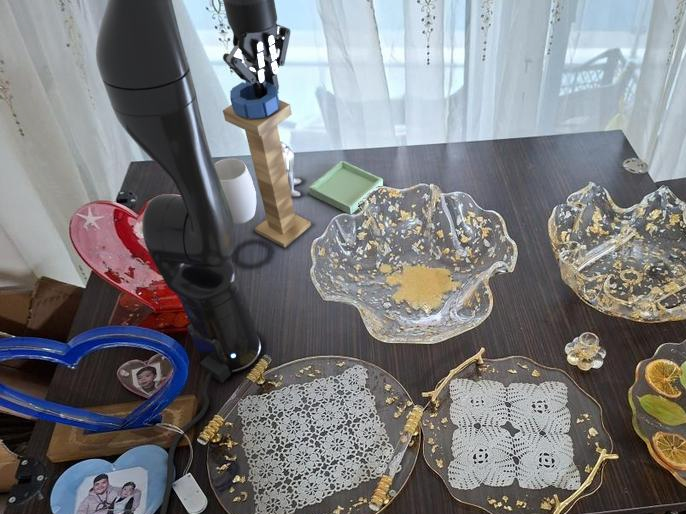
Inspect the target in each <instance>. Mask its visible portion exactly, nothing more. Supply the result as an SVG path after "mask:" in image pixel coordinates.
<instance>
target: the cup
mask: <svg viewBox="0 0 686 514" xmlns="http://www.w3.org/2000/svg"><path fill="white" fill-rule="evenodd" d="M213 163H214V165H215V168H216V171H217V174H218V177H219V180H220V182H221V185H222V188H223V190H224V193H225V196H226V199H227V201H228V204H229V207H230V211H231V214H232V218H233V222H234V224H245V223H247V222H250V220H252V219H253V218H254V217H255V214H256V209H257V191H256V188H255V184H254V181H253V179H252V175H251V173H250V172H249V169H248V167H247V165H246V163H245V162H244V161H243V160H241V159H238V158H230V157H229V158H228V157H227V158H223V159H219V160H217V162H213Z"/></svg>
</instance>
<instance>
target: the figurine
mask: <svg viewBox="0 0 686 514" xmlns="http://www.w3.org/2000/svg"><path fill="white" fill-rule="evenodd" d="M280 143H281V148H282V153H283V158H284V163H285V168H286V173H287V178H288V183H289V188H290V193H291V198H299V197H300V196H301V192H300V191H298V190H296V189H295V188H294V187H295V186H297V185H300V184H302V179H301V178H297V177H295V170H294V166H295V152H294V150H293V149H292V148H291V147H290V146H289V145H287V143H285V142H283V141H280Z"/></svg>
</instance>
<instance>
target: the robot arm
mask: <svg viewBox="0 0 686 514" xmlns="http://www.w3.org/2000/svg"><path fill="white" fill-rule="evenodd" d="M222 2H223V7H224V11H225V15H226V20H227V23H228V25H229V27H230V29H231V31H232V33H233V37H232V45H233V47H232V49H231V51H230V53H227V52H226V53H224V54H223V55H222V60H223V61H224V63H225V64H226V65H227V66H228V67H229V68H230V69H231V70H232V71H233V72H234V73H235V74H236V75H237V76H238V77H239V78H240V79H241V80H243V81H247V82H249V83H252V85H253V89H254V94H255V96H256V97H257V98H258V99H261V98H262V97H264V96H265V95H267V86H266V81H267V82H269V83H271V84H274V85H275V86H276V87H277V92H278V94H279V92H280V91H279V90H280V85H279V80H278V79H279V78H278V72H279V68H280V67H283V66H284V65H285V64H286V58H287V52H288V48H289V43H290V37H291V33H292V31H291V29H290V28H289V27H286V26H284V25H280V24H278V23H277V22H278V14H277V7H276V3H275V0H222ZM101 19H102V20H101V23H100V27H99V31H98V35H97V39H96V40H97V41H96V48H95V60H96V65H97V68H98V72H99V75H100V78H101V80H102V83H103V86H104V88H105V91H106V95H107V97H108V100H109V102H110V106H111V108H112V110H113V113H114V114H115V117H116V119H117V121H118V123H119V124H120V126H121V127H122V128H123V129H124V131H125V132H126V133H127V135H128V136H129V137H130V138H131V139H132V140H133V141H134V142H135V143H136V145H138V147H139V148H140V149H141V150H142V151H143V152H144V153H145V154H146V155H147V156H148V157H149V158H150V159H151V160H152V161H153V162H154V163H155V164H156V165H157V166H158V167H159V168H160V169H161V171H163V172H164V174H166V175H167V176H168V178H169V179H170V181H171V182H172V183H173V185H174V186H175V188H176V189H177V191H178V193H179V194H173V193H163V194H159V195H156V196H155V197H153V198H152V199H151V200H149V202H148V203H147V204H146V207H145V209H144V212H143V214H142V224H141V225H142V226H141V227H142V228H141V230H142V236H143V240H144V244H145V247H146V249H147V252H148V254H149V256H150V258H151V259H152V262H153V263H154V265H155V267H156V269H157V270H158V272H159V274H160V276H161V278H162V279H163V281H164V283H165V284H166V286H167V288H168V289H169V290H170V291H171V292H172V293H174V294H176V295H177V298H178V300H179V301H180V304H181V306H182V309H183V310H184V312H185V315H186V317H187V319H188V322H189V323H190V324H189V325H187V327H186V330H187V331H188V333H189V335H190V338H191V340H192V342H193V344H194V346H195V349H196V351H197V353H198V355H199V357H200V359H201V361H200V362H199V363H200V366H201V368H202V370H203V372H204V373H206V374H207V375H206V377H205V380H204V382H203V384H202V388H201V398H202V400H203V405H202V408H201V410H200V412H199V413H198V414H197V415H196V416H195V417H193V419H191V420H190V421H189V422H188V423H187V424H186V425H184V426H183V427H182V428H181V429H182V430H183V431H184V432H185V433H187V432H188V431H189V430H190V429H191V428H192V427H194V426H195V425H196V424H197V423H198V422H200V421H201V419H202V418H203V417H204V416H205V414H206V413H207V411H208V408H209V406H210V399H209V397H208V393H207V392H208V387H209V385H210V382H211V381H212V379H215V380H216V381H218V382H219V383H221V384H223V383H224V382H225V381H226V380H227V379H228V378H229V377H230V376H231V375H232V374H235V373H240V372H242V371H245V370H246V369H248V368H250V367H251V366H253V365H254V364H255V363H256V362H257V360H258V359H259V357H260V355H261V352H262V343H261V340H260V337H259V335H258V331H257V329H256V327H255V323H254V321H253V317H252V314H251V311H250V308H249V305H248V302H247V299H246V296H245V292H244V290H243V286H242V284H241V280H240V278H239V274H238V271H237V269H236V267H235V265H234V263H233V262H232V261H231V257H232V255H233V253H234V251H235V244H236V243H235V242H236V232H235V231H236V230H235V223H234V222H233V218H232V214H231V211H230V207H229V204H228V201H227V199H226V196H225V193H224V190H223V188H222V185H221V182H220V180H219V177H218V174H217V171H216V168H215V165H214V163H215V162H214V159H213V156H212V153H211V150H210V147H209V142H208V139H207V135H206V131H205V128H204V124H203V120H202V115H201V111H200V106H199V102H198V101H199V100H198V96H197V91H196V87H195V84H194V79H193V76H192V72H191V71H192V70H191V68H190V64H189V60H188V56H187V53H186V50H185V47H184V43H183V39H182V35H181V31H180V28H179V24H178V19H177V16H176V11H175V8H174V4H173V0H107V3H106V6H105V9H104V13H103V16H102V18H101ZM278 51H279V52H278ZM182 436H183V435H182V434H181V433H179V431H178V432H177V433H176V435H174V438H173V440H172V442H171V443H170V447H169V451H168V454H167V462H166V463H167V464H166V467H167V469H166V482H165V488H164V493H163V497H162V502H161V507H160V512H159V514H167V511H168V506H169V501H170V497H171V491H172V486H173V481H174V480H173V479H174V458H175V451H176V448H177V446H178V443H179V441H180V440H181V438H182Z"/></svg>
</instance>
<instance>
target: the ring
mask: <svg viewBox="0 0 686 514" xmlns="http://www.w3.org/2000/svg"><path fill="white" fill-rule="evenodd" d="M244 81H245V80H244ZM244 81H242V82H240V83H239V84H236V85H235V86H233V87H232V88H231V89H230V91H229V92H230V93H229V100H230V103H231V105H232V107H233V111H235V113H236V114H238V115H240V116H243V117H245V118H247V117H249V118H260V117H265V115H266V116H269V115H270V114H272V113H273V112H275V111H276V110H278V107H279V100H280V98H279V93H278V92H279V91H278V92H277V87H276V86H275V85H274V84H271V83H269V82H267V81H266V86H267V95H265V96H264V97H262V98H261V99H258V100H249V99H250V98H257V97H256V96H255V94H254V89H253V85H252V83H249V82H247V81H245V82H244Z"/></svg>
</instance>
